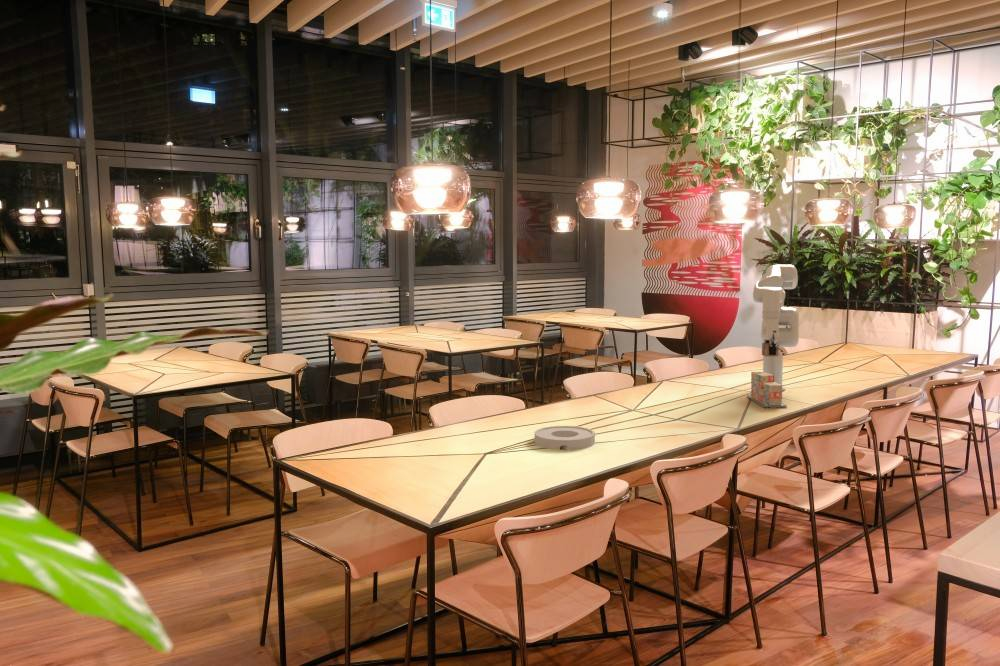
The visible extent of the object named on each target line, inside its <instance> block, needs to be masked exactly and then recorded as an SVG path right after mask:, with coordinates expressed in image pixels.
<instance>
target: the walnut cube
mask: <svg viewBox="0 0 1000 666" xmlns="http://www.w3.org/2000/svg"><path fill="white" fill-rule="evenodd" d="M769 346H770V343H763V342H762V343H761V355H762V356H763V355H764V356H766V357H771V356H778V349H779V348H780V347H779V344H777V346H776V355H769Z"/></svg>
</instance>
